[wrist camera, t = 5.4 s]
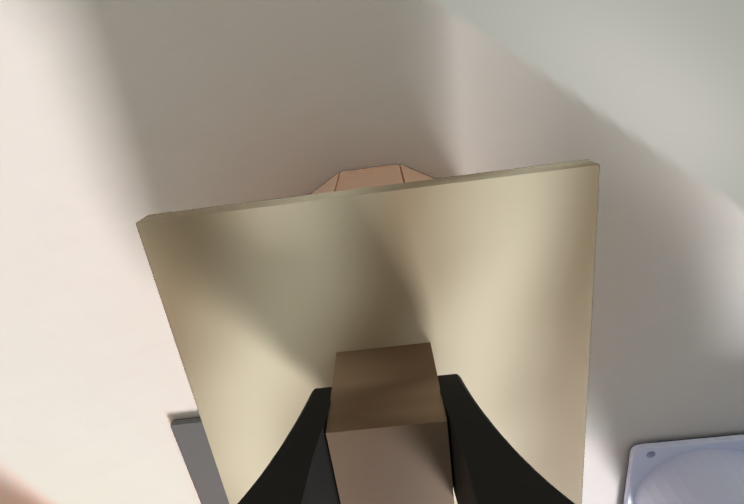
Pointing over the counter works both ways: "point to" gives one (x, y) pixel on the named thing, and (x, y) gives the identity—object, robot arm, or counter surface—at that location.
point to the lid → (388, 323)
